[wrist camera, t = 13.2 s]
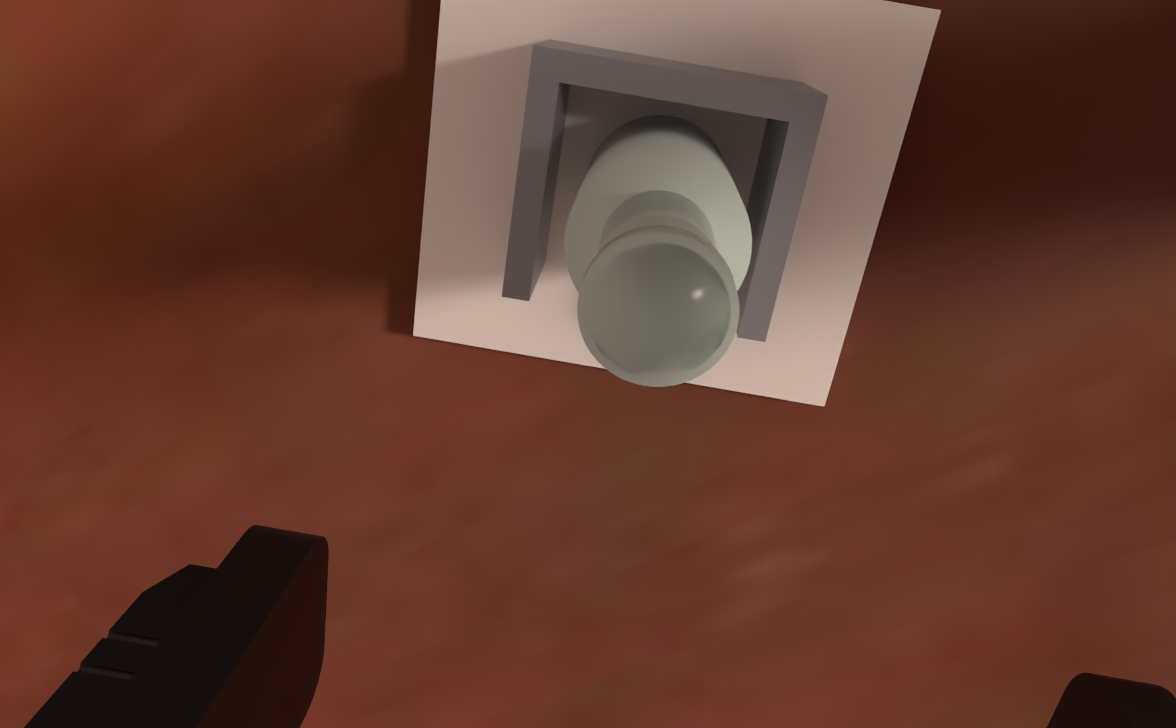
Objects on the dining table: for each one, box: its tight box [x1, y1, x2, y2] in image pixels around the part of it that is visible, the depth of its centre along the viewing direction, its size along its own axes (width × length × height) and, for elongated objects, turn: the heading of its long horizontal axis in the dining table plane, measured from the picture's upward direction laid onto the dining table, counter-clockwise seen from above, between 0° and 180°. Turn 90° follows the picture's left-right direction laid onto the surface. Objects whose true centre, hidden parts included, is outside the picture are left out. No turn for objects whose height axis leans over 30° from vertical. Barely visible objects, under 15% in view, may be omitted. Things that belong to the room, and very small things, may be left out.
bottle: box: [564, 115, 752, 387], centre depth 27 cm, size 6×6×15 cm
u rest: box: [413, 0, 941, 406], centre depth 32 cm, size 18×16×6 cm
